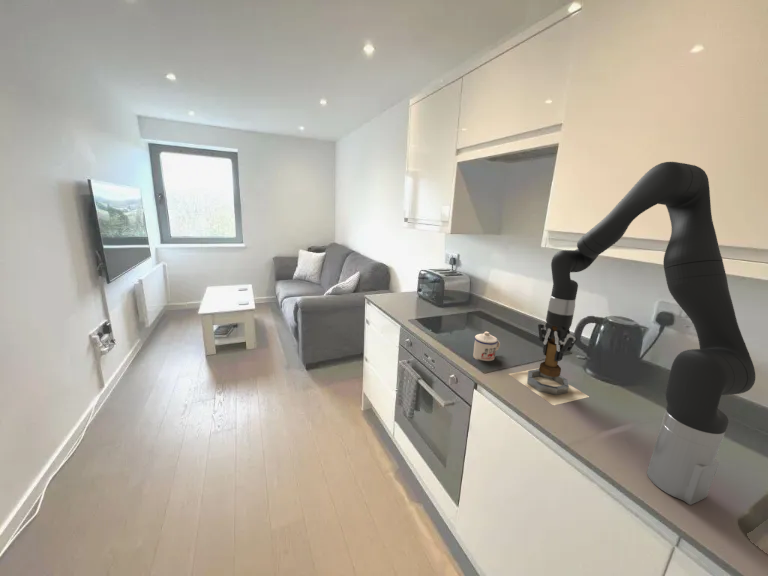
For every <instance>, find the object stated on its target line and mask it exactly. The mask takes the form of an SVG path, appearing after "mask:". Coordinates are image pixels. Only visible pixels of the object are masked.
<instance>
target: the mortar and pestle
mask: <svg viewBox="0 0 768 576" xmlns="http://www.w3.org/2000/svg"><path fill="white" fill-rule="evenodd" d="M552 329H553V331H556V330H557V327H556V326H552ZM556 351H557V346H556V344H555V340H554V338H552V340H550V341H548V346H547V352H546V356H545V359H544V361H543V362H542V361H541V363H539V367H538V368H539V371H540V372H541V373H543V374H544V375H547V376H551V377H558V376H561V372H562V367H561V366H560V365H559V364H558V363H559V361H555V360H554V359H555V354H556Z"/></svg>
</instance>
